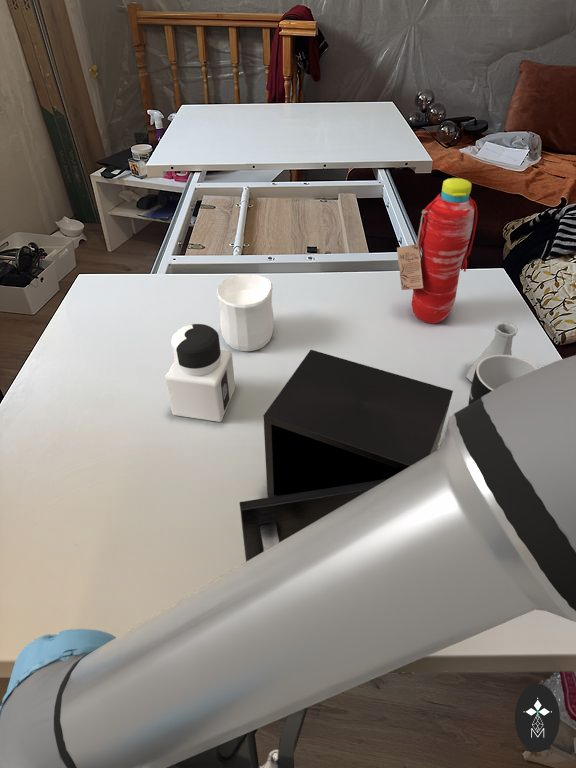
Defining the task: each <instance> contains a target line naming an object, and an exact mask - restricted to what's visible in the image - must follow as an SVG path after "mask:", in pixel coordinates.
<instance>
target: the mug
mask: <svg viewBox="0 0 576 768" xmlns="http://www.w3.org/2000/svg"><path fill="white" fill-rule="evenodd" d="M537 369H539V367H538V366H536V365H535V364H534V363H532V362H530V361H529V360H526V359H524V358H523V357H519V356H515V355H512V356H511V355H493V356H489V357H486V358H484V359H483V360H481V361H480V362H479V364H478V365H477V367H476V370H475V373H474V377H473V381H472V382H471V385H470V390H469V391H470V393H469V397H468V404H467V406H468V405H470V404H471V403H473V402H475V401H476V400H478V399H480V398H481V397H483V396H484V395H486V394H488V393H490V392H491V391H493V390H495V389H497V388H498V387H500V386H502V385H504V384H505V383H507V382H509V381H511V380H513V379H516V378H518V377H520V376H523V375H525V374H527V373H530V372H532V371H534V370H537Z"/></svg>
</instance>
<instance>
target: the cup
mask: <svg viewBox="0 0 576 768" xmlns="http://www.w3.org/2000/svg"><path fill="white" fill-rule="evenodd" d="M273 289H274V287H273V283H272V282H271V281H270V279H268V278H267V277H264V276H263V275H257V274H251V273H250V274H249V273H241V274H235V275H231V276H229V277H227V278H225V279H223V281H222V282H221V283H220V284H219V285H218V287H217V289H216V296H217V298H218V305H219V314H220V331H221V332H220V333H221V336H222V338H223V340H224V343H225V344H227V345H228V347H231V348H232V349H233V350H237V351H240V352H253V351H258V350H259V349H262V348H264V347H266V346H267V344H268V343H269V342H270V341H271V339H272V337H273V333H274V328H275V317H274V309H273V298H272V297H273Z"/></svg>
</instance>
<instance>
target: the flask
mask: <svg viewBox="0 0 576 768" xmlns="http://www.w3.org/2000/svg"><path fill="white" fill-rule="evenodd" d="M518 331H519V328H518V327H517V326H516V325H514V324H513V323H509V322H506V321H502V322H501V321H500V322H498V323H496V325H495V327H494V332H495V333H494V337H493V339H492V340H491V342H490V344H489V345H488V346H487V347H486V349H485V350H484V351H483V352H482V353H481V355H480V356H479V357H478V358H477V359H476V360H475V361H474V363H472V365H471V366H470V367H469V369H468V372H467V374H466V378H467V379H468V380H469V381H470V382H471V383H472V381H473V377H474V373H475V370H476V367H477V365H478V364H479V362H480V361H481V360H483V359H484V358H486V357H489V356H493V355H511V356H513V353H512V348H513V347H512V346H513V338H514V337H516V335H517V333H518Z"/></svg>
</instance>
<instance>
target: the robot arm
mask: <svg viewBox="0 0 576 768" xmlns="http://www.w3.org/2000/svg"><path fill="white" fill-rule="evenodd" d="M533 611H543V612H547V613H551V614H553V615H556V616H558V617H561V618H563V619H565V620H569V621H572V622H574V623H576V354H575V355H572V356H571V355H570V356H568V357H565V358H562V359H559V360H554V361H553V362H551V363H548V364H546V365H544V366H542V367H540V368H539V367H538V369H537V370H534V371H532V372H530V373H527V374H525V375H523V376H520V377H518V378H516V379H513V380H511V381H509V382H507V383H505V384H504V385H502V386H500V387H498V388H497V389H495V390H493V391H491V392H490V393H488V394H486V395H484V396H483V397H481V398H480V399H478V400H476V401H475V402H473V403H471V404H470V405H468V404H467V405H466V406H465V407H463V408H462V409H459V410H457V411H456V412H454V413H453V414H451V415H449V416H448V420H447V424H446V427H445V432H444V435H443V439H442V443H441V445H440V446H439V448H438V449H437V451H435V452H434V453H432V454H430V455H429V456H427V457H425V458H423V459H422V460H420V461H418V462H417V463H415V464H413V465H411V466H410V467H408V468H406V469H405V470H403V471H401V472H399V473H398V474H396V475H394V476H393V477H391V478H389V479H387V480H386V481H384V482H382V483H381V484H379V485H377V486H375V487H374V488H372V489H370V490H369V491H367V492H365V493H363V494H362V495H360V496H358V497H357V498H355V499H353V500H351V501H350V502H348V503H346V504H345V505H343V506H341V507H339V508H338V509H336V510H334V511H333V512H331V513H329V514H327V515H326V516H324V517H322V518H321V519H319V520H317V521H315V522H314V523H312V524H310V525H309V526H307V527H305V528H303V529H302V530H300V531H298V532H297V533H295V534H293V535H291V536H290V537H288V538H286V539H285V540H283V541H281V542H279V543H278V544H276V545H274V546H273V547H271V548H269V549H267V550H266V551H264V552H262V553H261V554H259V555H257V556H255V557H254V558H252V559H250V560H249V561H247V562H246V561H245V562H243V563H242V564H240V565H238V566H237V567H235V568H233V569H231V570H230V571H228V572H226V573H225V574H223V575H221V576H219V577H218V578H216V579H215V580H213V581H211V582H209V583H207V584H206V585H204V586H202V587H200V588H199V589H197V590H196V591H194V592H192V593H190V594H189V595H186V596H185V597H183V598H181V599H180V600H178V601H177V602H175V603H173V604H172V605H170V606H168V607H166V608H164V609H163V610H161V611H159V612H157V613H156V614H154V615H153V616H151V617H149V618H148V619H146V620H144V621H142V622H141V623H138V624H137V625H136V626H134V627H132V628H130V629H129V630H127V631H125V632H124V633H121V634H120V635H118V636H116V635H113V634H111V633H109V632H106V631H102V630H98V629H92V628H91V629H90V628H69V629H63V630H61V631H59V632H58V633H57V634H43V635H42V636H39V637H37V638H34V639H33V640H32V641H30V642H29V643H28V644H26V645H25V646H24V647H23V648H22V649H21V651H20V652H19V654H18V655H17V656H16V660H15V662H14V664H13V667H12V670H11V675H10V677H9V682H8V685H7V689H6V692H5V694H4V695H3V697H2V700H1V705H0V768H295V752H296V749H297V745H298V742H299V739H300V735H301V732H302V729H303V725H304V723H305V719H306V716H307V713H308V710H309V707H311V706H314V705H316V704H318V703H321V702H323V701H325V700H327V699H330V698H333V697H335V696H337V695H339V694H341V693H343V692H346V691H348V690H352V689H354V688H356V687H359V686H360V685H363V684H365V683H367V682H371V681H372V680H374V679H376V678H379V677H381V676H384V675H386V674H388V673H391V672H393V671H395V670H398V669H400V668H402V667H404V666H407V665H409V664H411V663H414V662H416V661H418V660H421V659H423V658H426V657H428V656H430V655H433V654H435V653H437V652H440V651H443V650H444V649H447V648H449V647H452V646H454V645H456V644H459V643H461V642H463V641H465V640H468V639H470V638H472V637H475V636H478V635H480V634H482V633H485V632H487V631H489V630H491V629H493V628H496V627H498V626H500V625H503V624H505V623H507V622H510V621H512V620H515V619H517V618H519V617H522V616H524V615H527V614H528V613H531V612H533ZM284 718H286V719H285V722H284V725H283V728H282V730H281V734H280V738H279V742H278V749H273V750H271V751H270V752H269V753H268V756H267V760H266V762H265V763H264V764H262V765H260V763H259V756H258V755H259V754H258V747H257V740H256V734H257V732H258V731H259V729H260V728H262V727H264V726H267V725H269V724H272V723H274V722H276V721H278V720H281V719H284Z"/></svg>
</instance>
